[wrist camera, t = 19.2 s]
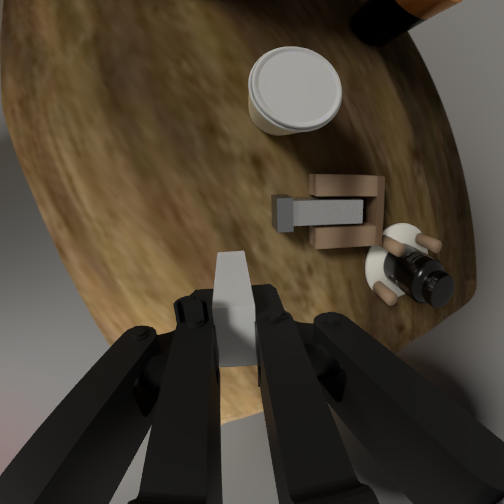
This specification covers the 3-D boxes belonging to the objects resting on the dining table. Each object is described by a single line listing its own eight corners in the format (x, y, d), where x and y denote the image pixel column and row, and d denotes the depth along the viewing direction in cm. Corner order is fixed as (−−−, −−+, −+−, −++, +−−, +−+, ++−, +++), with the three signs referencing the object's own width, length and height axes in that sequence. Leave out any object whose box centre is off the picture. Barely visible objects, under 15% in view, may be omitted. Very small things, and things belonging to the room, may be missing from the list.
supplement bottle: (376, 279, 42) (417, 314, 30) (388, 239, 40) (435, 264, 29) (407, 283, 43) (448, 315, 31) (418, 245, 41) (465, 270, 29)
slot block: (308, 242, 40) (315, 249, 36) (308, 173, 37) (316, 174, 33) (370, 238, 40) (381, 245, 37) (373, 175, 37) (384, 176, 34)
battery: (378, 13, 29) (446, -37, 10) (393, 47, 31) (473, 7, 12) (342, 12, 29) (404, -52, 10) (359, 47, 31) (436, -7, 12)
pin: (272, 225, 38) (277, 232, 34) (271, 195, 37) (276, 198, 33) (352, 222, 39) (365, 228, 35) (353, 193, 38) (366, 197, 34)
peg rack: (349, 265, 41) (365, 279, 36) (402, 206, 39) (423, 212, 34) (390, 309, 45) (405, 325, 39) (435, 257, 43) (454, 267, 37)
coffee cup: (321, 99, 34) (358, 75, 22) (292, 153, 36) (320, 148, 24) (262, 67, 32) (276, 29, 20) (230, 122, 34) (231, 101, 22)
